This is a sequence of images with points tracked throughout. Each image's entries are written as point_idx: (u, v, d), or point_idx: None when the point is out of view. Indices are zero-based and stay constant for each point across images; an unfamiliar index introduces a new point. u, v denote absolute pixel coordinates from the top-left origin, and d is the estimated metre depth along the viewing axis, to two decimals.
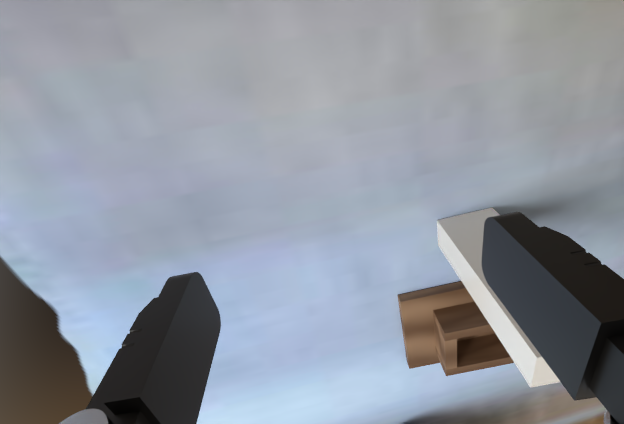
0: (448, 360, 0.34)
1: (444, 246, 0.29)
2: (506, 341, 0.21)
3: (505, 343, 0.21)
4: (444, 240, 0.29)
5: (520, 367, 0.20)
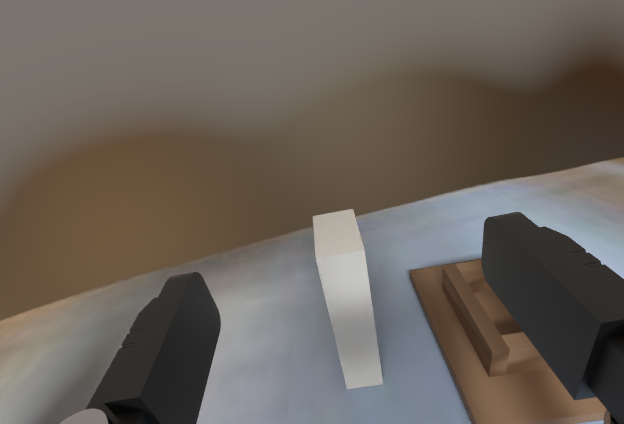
0: None
1: (367, 374, 0.26)
2: (357, 284, 0.21)
3: (361, 284, 0.21)
4: (359, 376, 0.26)
5: (360, 264, 0.20)
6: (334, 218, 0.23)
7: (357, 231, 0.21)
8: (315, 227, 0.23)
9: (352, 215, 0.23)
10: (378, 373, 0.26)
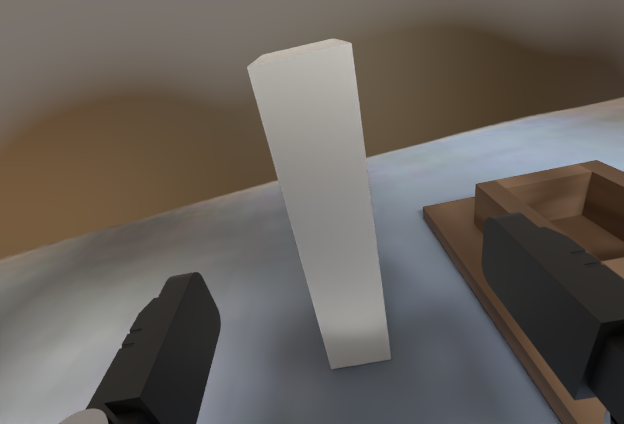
0: None
1: (364, 341, 0.15)
2: (338, 139, 0.10)
3: (348, 140, 0.10)
4: (350, 344, 0.15)
5: (343, 85, 0.10)
6: (299, 47, 0.13)
7: (338, 41, 0.11)
8: (262, 57, 0.12)
9: (331, 39, 0.13)
10: (383, 339, 0.15)
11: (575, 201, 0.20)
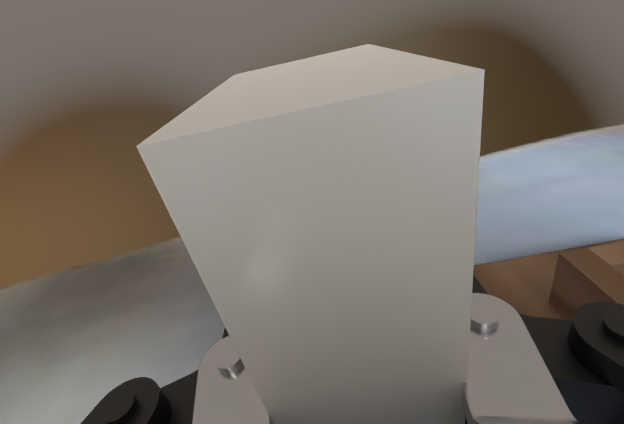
0: None
1: None
2: (406, 311, 0.04)
3: (432, 312, 0.04)
4: None
5: (438, 192, 0.03)
6: (302, 62, 0.06)
7: (400, 55, 0.04)
8: (225, 84, 0.06)
9: (368, 47, 0.06)
10: None
11: None
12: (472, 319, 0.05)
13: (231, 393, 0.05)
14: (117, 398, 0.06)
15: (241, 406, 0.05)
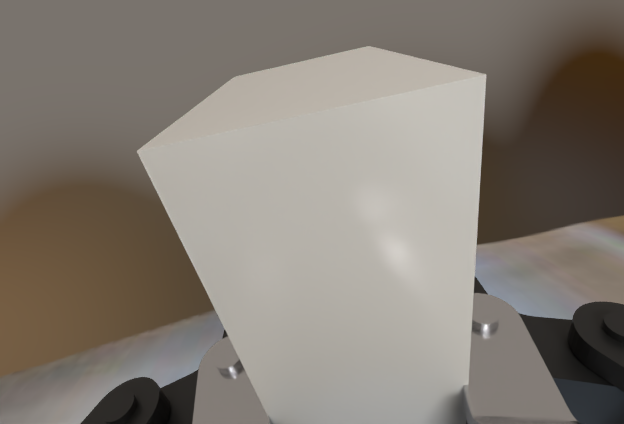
0: None
1: None
2: (408, 316, 0.04)
3: (434, 316, 0.04)
4: None
5: (440, 197, 0.03)
6: (303, 64, 0.06)
7: (401, 58, 0.04)
8: (225, 86, 0.06)
9: (369, 50, 0.06)
10: None
11: None
12: (472, 319, 0.05)
13: (231, 392, 0.05)
14: (117, 398, 0.06)
15: (241, 406, 0.05)
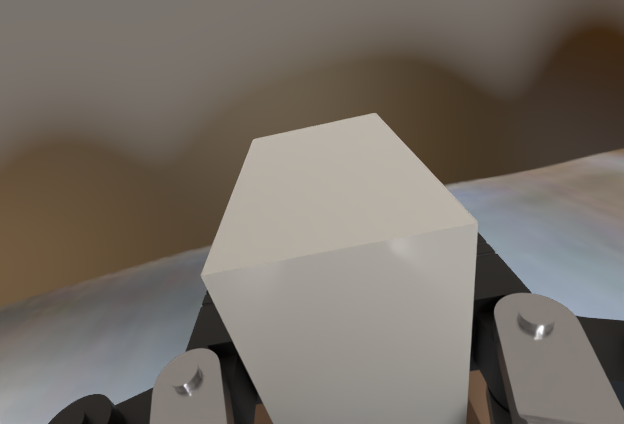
0: None
1: None
2: (414, 384, 0.05)
3: (435, 384, 0.05)
4: None
5: (441, 301, 0.04)
6: (317, 136, 0.07)
7: (407, 156, 0.05)
8: (249, 160, 0.07)
9: (377, 124, 0.07)
10: None
11: None
12: (525, 318, 0.05)
13: (188, 410, 0.05)
14: (66, 418, 0.05)
15: None
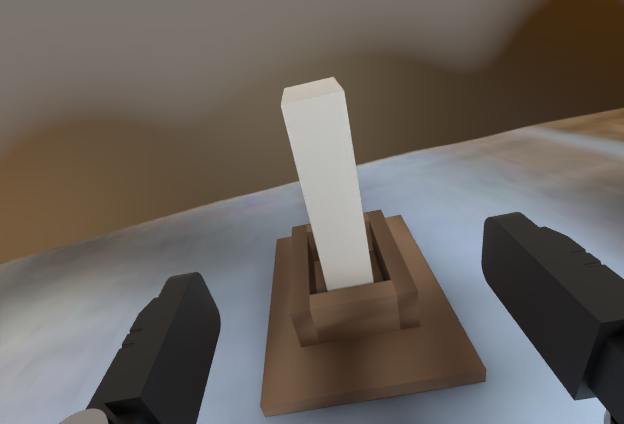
0: (367, 295, 0.19)
1: None
2: (336, 148, 0.16)
3: (343, 148, 0.16)
4: None
5: (339, 115, 0.15)
6: (310, 84, 0.19)
7: (336, 84, 0.17)
8: (285, 92, 0.18)
9: (332, 79, 0.19)
10: None
11: None
12: None
13: None
14: None
15: None
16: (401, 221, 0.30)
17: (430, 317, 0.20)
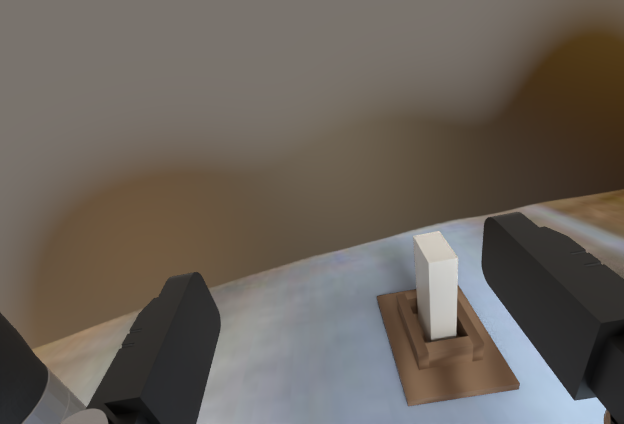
0: (457, 344, 0.37)
1: (446, 339, 0.39)
2: (450, 278, 0.34)
3: (453, 278, 0.34)
4: None
5: (454, 266, 0.34)
6: (429, 237, 0.37)
7: (448, 246, 0.35)
8: (418, 243, 0.36)
9: (441, 235, 0.37)
10: None
11: None
12: None
13: None
14: None
15: None
16: (457, 287, 0.48)
17: (487, 354, 0.38)
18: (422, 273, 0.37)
